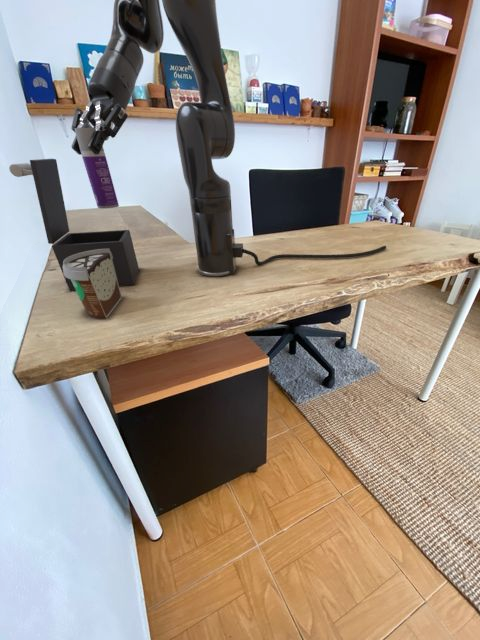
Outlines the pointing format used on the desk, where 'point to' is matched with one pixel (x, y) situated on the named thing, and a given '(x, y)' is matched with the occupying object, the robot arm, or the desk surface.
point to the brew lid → (47, 195)
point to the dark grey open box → (111, 240)
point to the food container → (94, 281)
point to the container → (97, 170)
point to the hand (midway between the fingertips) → (84, 151)
